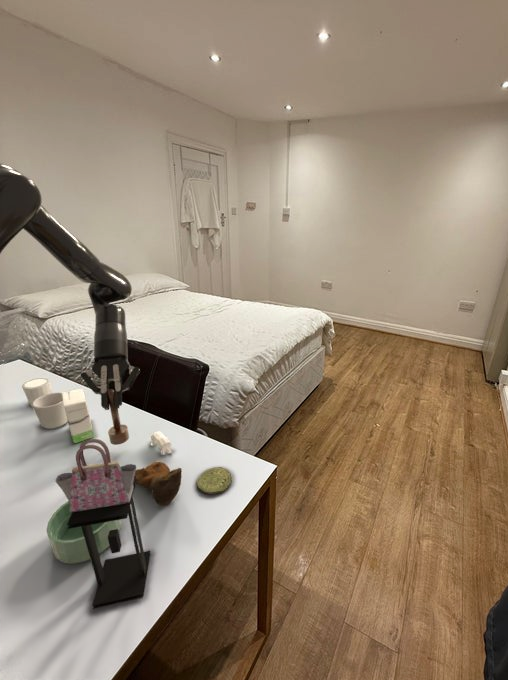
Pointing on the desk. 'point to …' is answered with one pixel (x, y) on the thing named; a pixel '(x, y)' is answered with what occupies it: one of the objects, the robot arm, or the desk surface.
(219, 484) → the medallion
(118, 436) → the brown wooden pestle
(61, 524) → the bowl
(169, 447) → the figurine
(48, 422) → the cup
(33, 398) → the white cup
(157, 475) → the sculpture
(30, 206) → the robot arm
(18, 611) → the desk surface
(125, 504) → the handbag
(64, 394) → the ink box
